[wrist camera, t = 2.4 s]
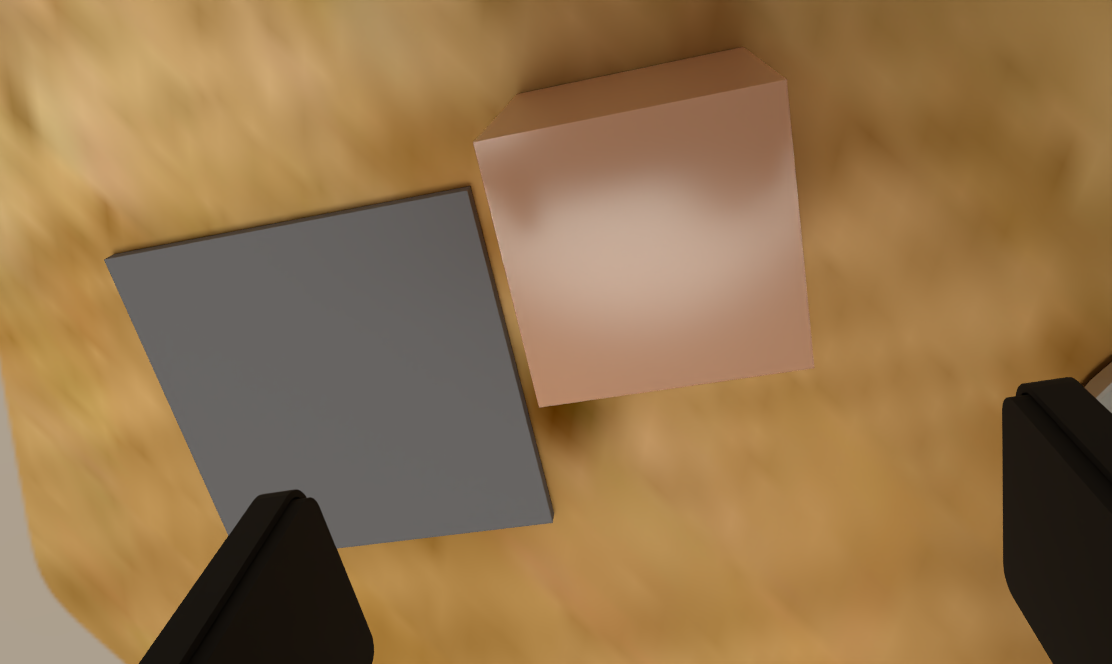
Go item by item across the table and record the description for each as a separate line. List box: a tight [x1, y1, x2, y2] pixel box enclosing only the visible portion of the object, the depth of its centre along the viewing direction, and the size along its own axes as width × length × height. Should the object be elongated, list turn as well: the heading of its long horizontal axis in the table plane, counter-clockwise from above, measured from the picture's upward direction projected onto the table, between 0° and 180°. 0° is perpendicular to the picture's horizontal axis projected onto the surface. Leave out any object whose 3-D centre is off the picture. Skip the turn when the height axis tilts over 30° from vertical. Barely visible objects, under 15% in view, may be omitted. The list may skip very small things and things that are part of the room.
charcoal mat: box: [104, 186, 554, 548], centre depth 32 cm, size 14×14×1 cm
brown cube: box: [473, 47, 814, 407], centre depth 24 cm, size 7×7×8 cm
